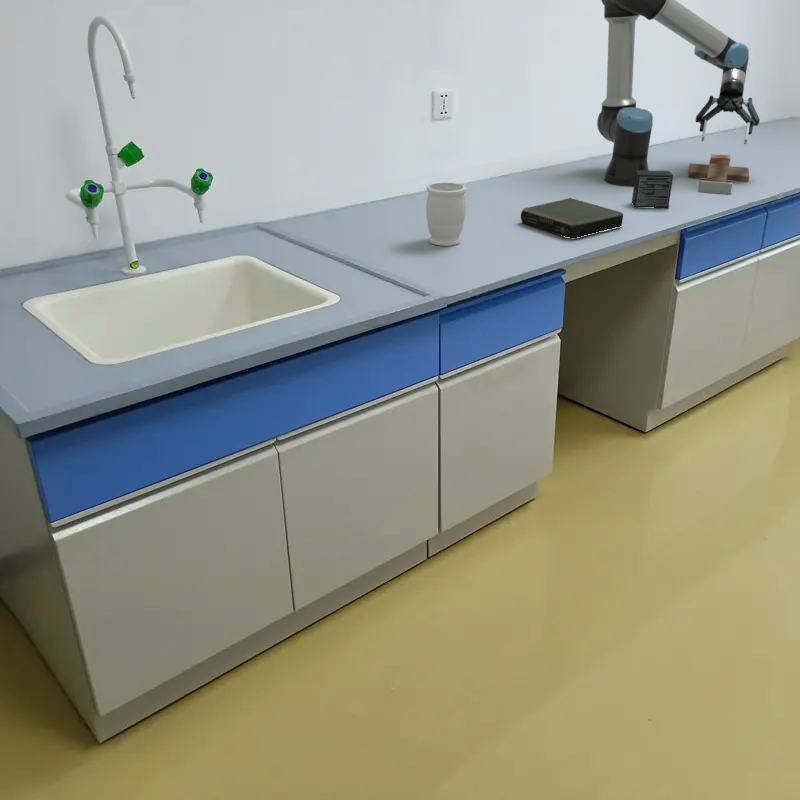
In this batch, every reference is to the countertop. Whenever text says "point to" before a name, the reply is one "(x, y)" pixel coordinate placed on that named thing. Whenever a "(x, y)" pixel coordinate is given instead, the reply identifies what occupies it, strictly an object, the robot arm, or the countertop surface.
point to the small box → (652, 189)
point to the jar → (445, 212)
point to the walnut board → (733, 174)
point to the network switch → (571, 217)
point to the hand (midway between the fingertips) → (724, 140)
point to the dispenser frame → (715, 186)
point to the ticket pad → (718, 168)
